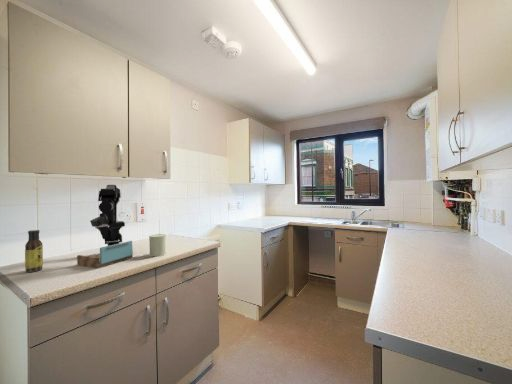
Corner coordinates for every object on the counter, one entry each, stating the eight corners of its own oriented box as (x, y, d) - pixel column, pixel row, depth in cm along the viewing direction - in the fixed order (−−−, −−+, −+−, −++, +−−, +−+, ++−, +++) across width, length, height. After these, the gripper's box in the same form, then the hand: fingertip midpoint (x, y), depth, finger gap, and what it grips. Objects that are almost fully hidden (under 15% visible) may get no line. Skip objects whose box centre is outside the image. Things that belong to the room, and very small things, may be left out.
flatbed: (77, 265, 120) (77, 255, 120) (113, 255, 139) (113, 246, 139) (97, 268, 114) (97, 258, 114) (132, 257, 133) (132, 248, 133)
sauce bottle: (41, 271, 112) (40, 230, 112) (23, 273, 108) (22, 231, 108) (44, 267, 117) (43, 228, 117) (27, 270, 114) (26, 230, 114)
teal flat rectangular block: (100, 263, 115) (99, 247, 115) (130, 254, 131) (130, 240, 131) (102, 264, 115) (102, 248, 115) (132, 254, 131) (132, 240, 131)
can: (168, 252, 142) (168, 233, 142) (161, 256, 133) (160, 236, 133) (154, 252, 143) (154, 233, 143) (146, 256, 134) (145, 236, 134)
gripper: (81, 212, 122) (82, 241, 122) (105, 212, 115) (105, 244, 115) (102, 210, 132) (102, 237, 132) (125, 211, 125) (125, 239, 125)
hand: (108, 239), depth 126 cm, fingers open, 7 cm apart
